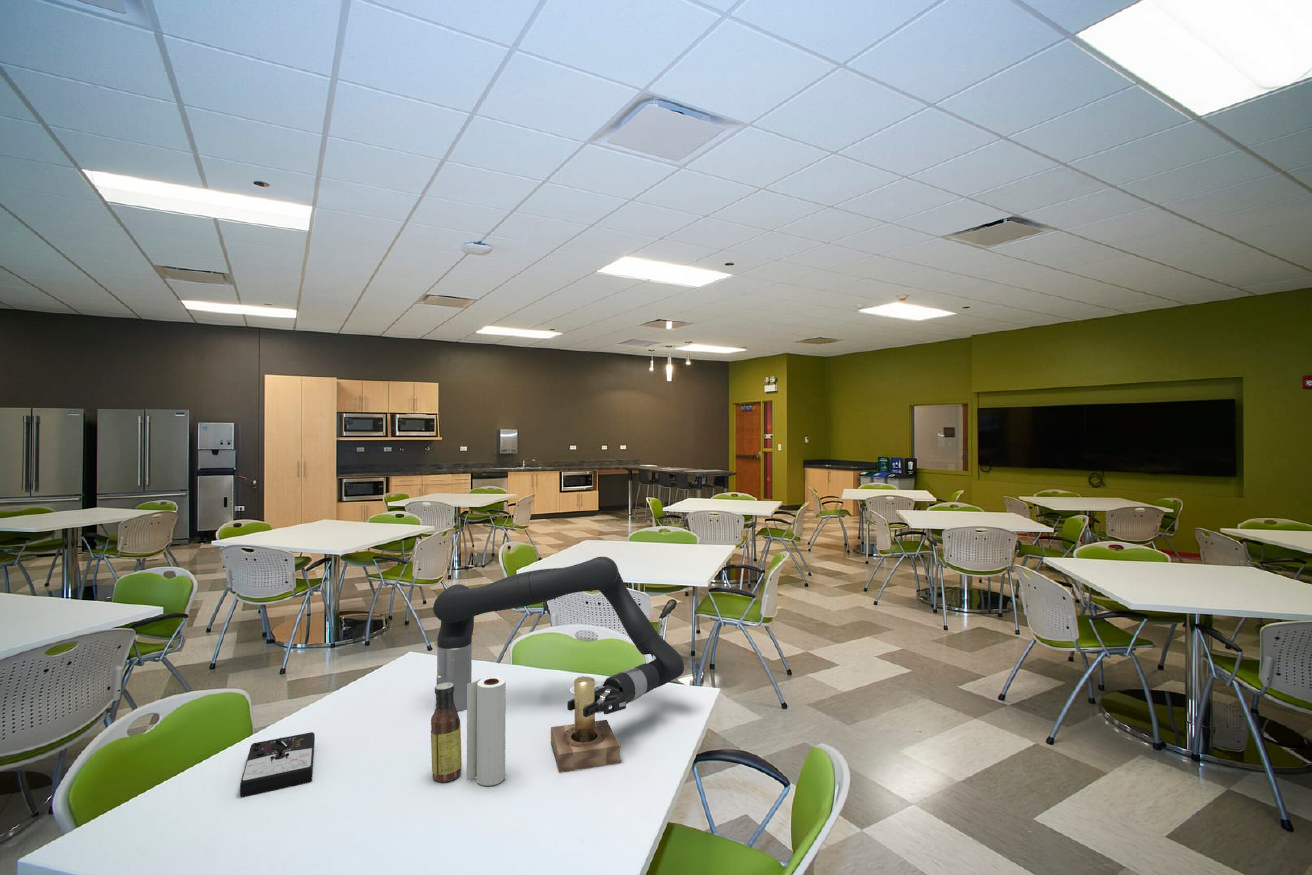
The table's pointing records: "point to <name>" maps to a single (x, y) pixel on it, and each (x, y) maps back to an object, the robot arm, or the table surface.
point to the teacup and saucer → (573, 686)
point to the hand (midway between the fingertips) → (576, 709)
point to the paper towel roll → (486, 730)
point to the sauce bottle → (445, 735)
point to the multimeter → (278, 764)
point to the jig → (584, 748)
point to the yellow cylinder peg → (582, 698)
